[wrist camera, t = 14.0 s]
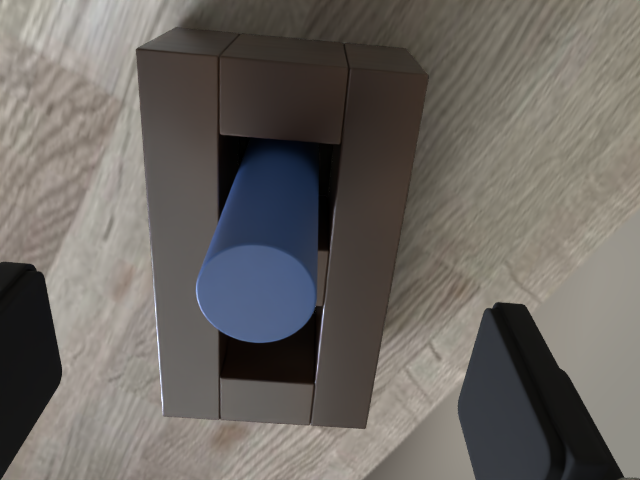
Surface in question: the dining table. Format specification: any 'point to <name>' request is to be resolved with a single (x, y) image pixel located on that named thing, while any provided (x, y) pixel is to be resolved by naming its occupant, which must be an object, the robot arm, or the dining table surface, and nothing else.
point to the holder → (333, 212)
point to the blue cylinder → (265, 245)
